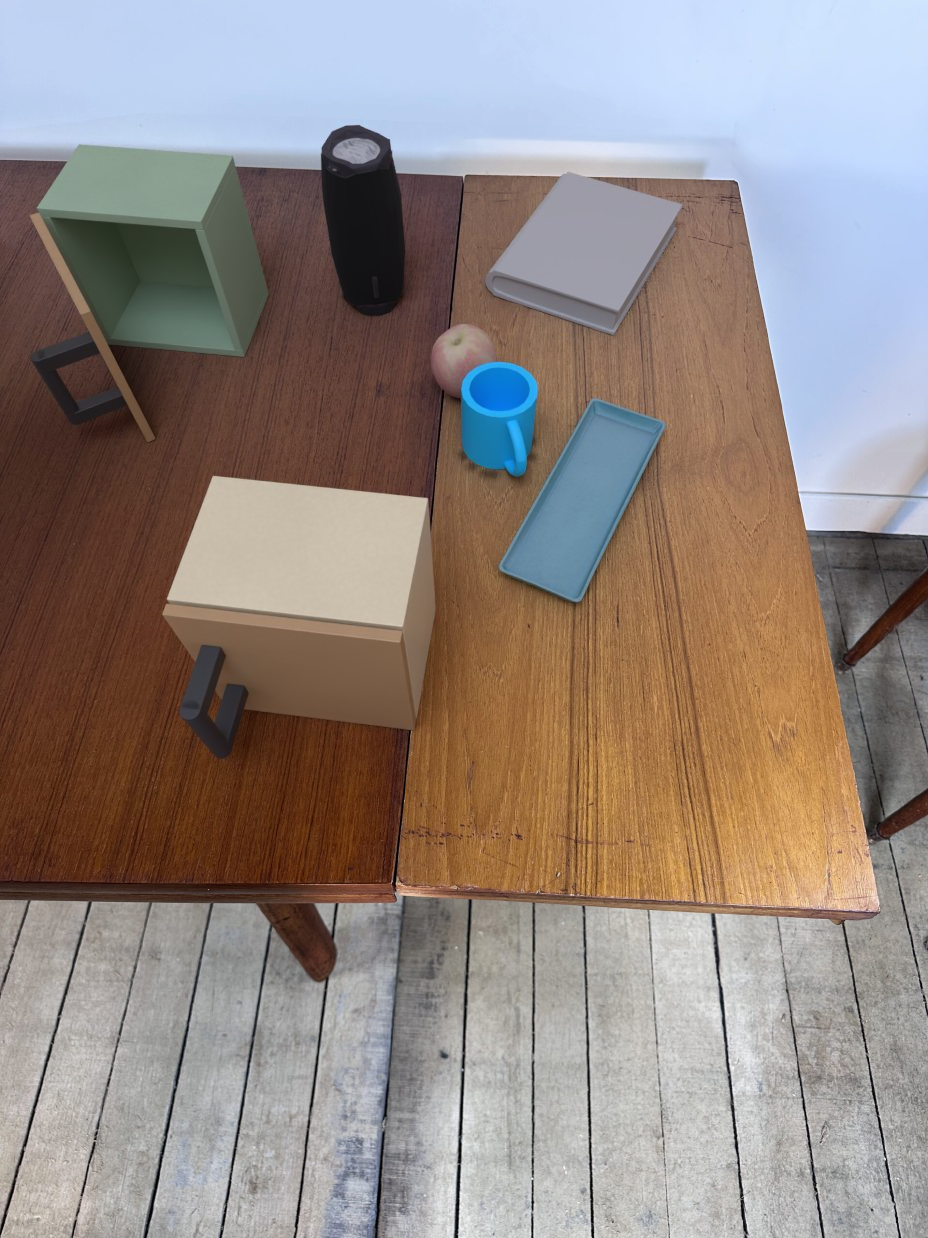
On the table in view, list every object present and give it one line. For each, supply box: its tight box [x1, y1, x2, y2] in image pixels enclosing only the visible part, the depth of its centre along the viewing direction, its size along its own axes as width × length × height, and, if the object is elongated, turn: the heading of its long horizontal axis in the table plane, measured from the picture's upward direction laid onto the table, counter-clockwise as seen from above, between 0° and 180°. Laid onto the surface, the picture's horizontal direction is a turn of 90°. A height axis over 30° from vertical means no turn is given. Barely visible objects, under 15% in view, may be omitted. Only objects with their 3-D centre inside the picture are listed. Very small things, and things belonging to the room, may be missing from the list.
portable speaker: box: [320, 124, 406, 317], centre depth 93 cm, size 9×9×20 cm
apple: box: [430, 323, 499, 399], centre depth 89 cm, size 8×8×8 cm
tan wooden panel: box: [29, 211, 156, 443], centre depth 84 cm, size 7×18×18 cm, turn 31°
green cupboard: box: [36, 143, 270, 358], centre depth 91 cm, size 12×18×18 cm, turn 82°
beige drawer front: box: [161, 603, 417, 760], centre depth 63 cm, size 7×18×18 cm, turn 82°
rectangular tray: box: [498, 397, 667, 604], centre depth 83 cm, size 26×9×2 cm, turn 154°
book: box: [484, 171, 684, 336], centre depth 103 cm, size 18×4×24 cm
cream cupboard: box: [166, 475, 437, 720], centre depth 68 cm, size 12×18×18 cm, turn 82°
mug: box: [460, 361, 539, 478], centre depth 84 cm, size 12×8×8 cm
